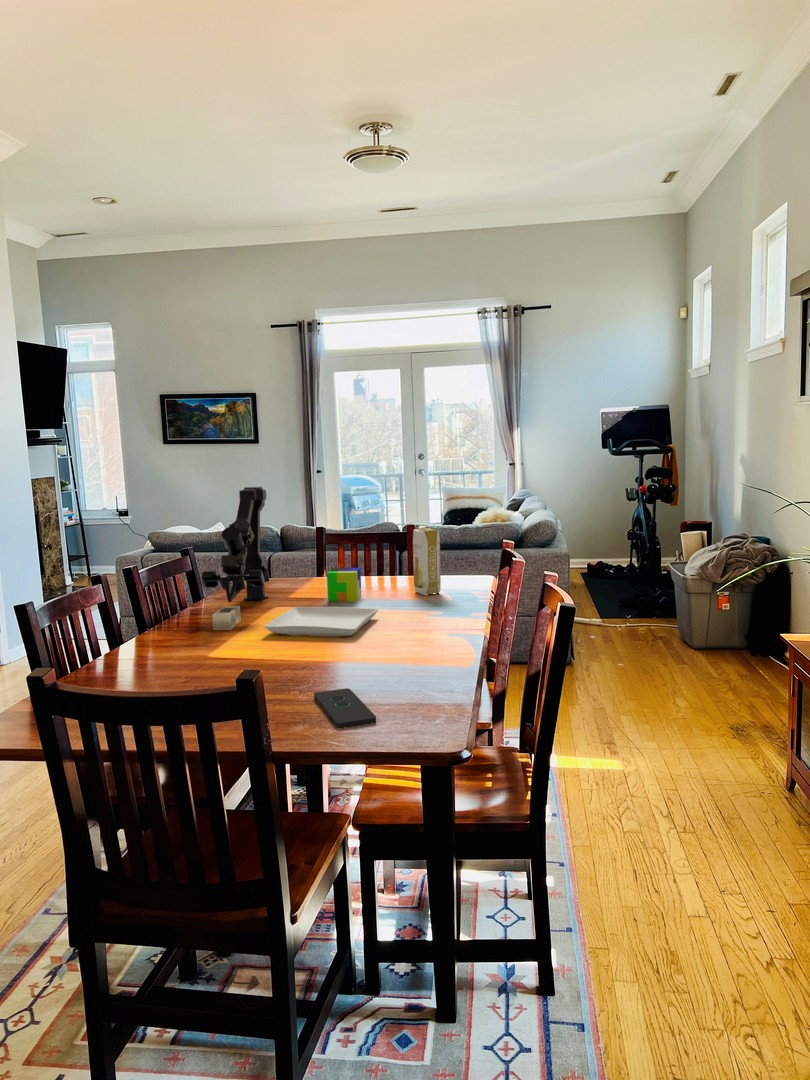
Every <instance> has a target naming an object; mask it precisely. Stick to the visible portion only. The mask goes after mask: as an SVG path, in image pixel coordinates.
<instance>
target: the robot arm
mask: <svg viewBox="0 0 810 1080" xmlns="http://www.w3.org/2000/svg"><path fill="white" fill-rule="evenodd" d="M238 491H239V493H238V494H239V504H238V509H237V512H236V513H237V514H236V518H235V521H233V522H232V523H230V524H229V525H228V527H225V528H223V531H221V538H222V540H223V543H224V546H225V549H226V550H228V554H227V555H221V559H220V560H221V561H220V567H222V569H221V571H222V572H221V573H219V575H217V572H216V570H203V572H202V573H201V577H200V578H201V581H202V583H203V585H204V587H205V588H207V589H211V588H217V587H218V586H219V583H220V585H221V588H222V589H223V590H225V594H226V598H227V602H228V603H232V601H234V599H235V598H236V597H237V596H238V594H240V593H241V591H242V590H245V589H246V596H245V597H243V600H244V599H248V600H247V601H256V600H259V601H261V600H260V599H262V600H264V599H263V598H265V599H267V598H266V597H268V598H269V595H266V592H265V591H266V590H265V583H267V582H269V581H270V575H269V571H268V568H267V565H266V563H265V560H264V558H263V556H262V554H261V512H262V510H263V508H264V507H265V503H266V500H267V491H266V489H263V486H248V487H247V486H245V487H244V488H243V489H241V490H238ZM231 583H232V584H231Z"/></svg>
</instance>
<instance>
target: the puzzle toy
mask: <svg viewBox="0 0 810 1080" xmlns="http://www.w3.org/2000/svg"><path fill="white" fill-rule="evenodd" d="M361 574H362V573H361V567H333V568H331V569H330V570H328V572H326V582H327V583H326V586H327V602H328V601H357V602H358V601H359V600H360V598H361V597H362V575H361Z"/></svg>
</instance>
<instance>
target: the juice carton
mask: <svg viewBox="0 0 810 1080" xmlns="http://www.w3.org/2000/svg"><path fill="white" fill-rule="evenodd" d="M412 532H413V533H412V556H413V559H412V560H413V561H412V562H413V585H414V586H413V587H414V592H415V593H416V592H418V593H417V594H419V593H420V595H422V594H423V595H422V596H427V595H426V594H433V593H439V592H440V593H441V587H442V586H441V585H442V584H441V583H442V582H441V537H440V531H439V529H433V528H429V527H426V525H420V526H418V528H415V529H413V531H412Z"/></svg>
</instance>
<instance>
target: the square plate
mask: <svg viewBox="0 0 810 1080" xmlns="http://www.w3.org/2000/svg"><path fill="white" fill-rule="evenodd" d="M378 611H379V610H378V609H377V608H366V607H365V608H361V607H347V606H345V607H344V606H343V607H342V606H294V607H291V608H290V609H289V610H286V611H285V612H284V613H282V614H280V615H278V616H277V617H276V618H274V619H272V620H271V621H269V622H267V624H264V625H263V628H265V629H266V630H268V631H269V632H270V633H273V634H281V635H285V634H287V635H286V636H299V635H310V637H347V636H352V635H354V634H355V633H356V632H357V631H358V630H359V629H360V628H361V627H362V626H365V624H366V623H368V622H369V621H370V620H371V619H372V618H373V617H375V615H376V614H377V612H378Z"/></svg>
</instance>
